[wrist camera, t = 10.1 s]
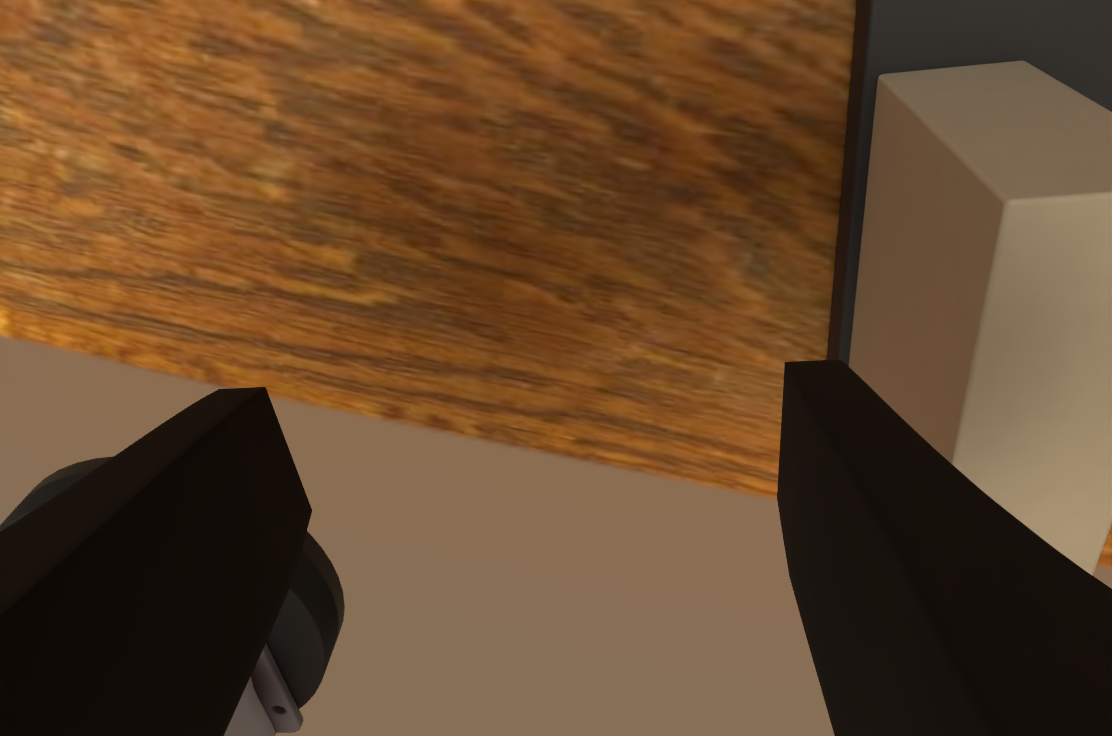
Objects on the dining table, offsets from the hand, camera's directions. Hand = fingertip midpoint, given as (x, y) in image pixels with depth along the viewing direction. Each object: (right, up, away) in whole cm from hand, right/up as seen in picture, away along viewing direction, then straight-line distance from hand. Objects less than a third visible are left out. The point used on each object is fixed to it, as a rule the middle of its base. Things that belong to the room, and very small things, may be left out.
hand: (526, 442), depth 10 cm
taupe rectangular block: (+8, +3, +6) cm, 11 cm away
